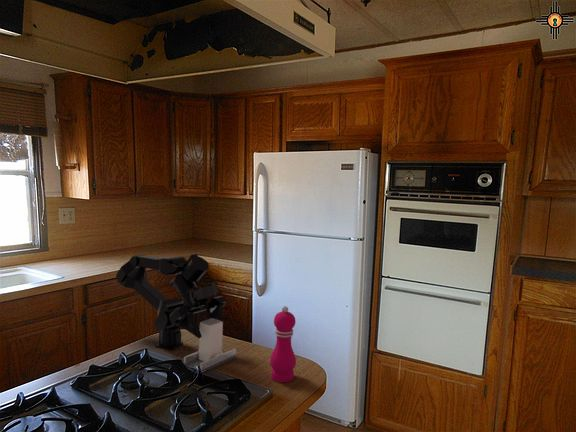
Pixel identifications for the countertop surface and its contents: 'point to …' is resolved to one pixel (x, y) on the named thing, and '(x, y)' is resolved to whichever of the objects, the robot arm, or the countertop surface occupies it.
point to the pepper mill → (283, 347)
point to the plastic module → (210, 339)
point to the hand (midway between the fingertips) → (212, 333)
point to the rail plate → (211, 363)
